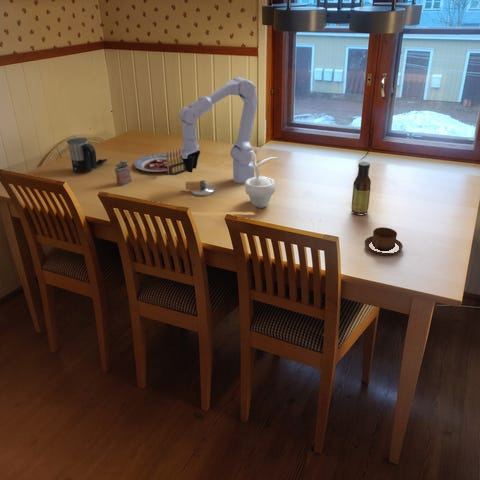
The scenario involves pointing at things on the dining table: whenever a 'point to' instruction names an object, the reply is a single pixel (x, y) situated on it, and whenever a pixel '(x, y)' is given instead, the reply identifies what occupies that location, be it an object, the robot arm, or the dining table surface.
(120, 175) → the lighter
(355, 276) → the dining table surface
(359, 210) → the sauce bottle
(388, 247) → the cup and saucer
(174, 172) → the ammunition clip
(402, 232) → the dining table surface
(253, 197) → the potted plant
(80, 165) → the milk frother
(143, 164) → the ceramic plate
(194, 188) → the dial
